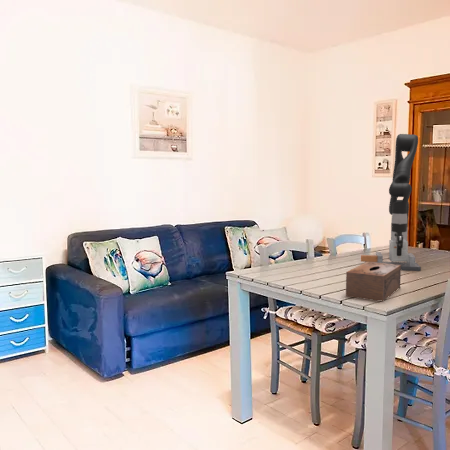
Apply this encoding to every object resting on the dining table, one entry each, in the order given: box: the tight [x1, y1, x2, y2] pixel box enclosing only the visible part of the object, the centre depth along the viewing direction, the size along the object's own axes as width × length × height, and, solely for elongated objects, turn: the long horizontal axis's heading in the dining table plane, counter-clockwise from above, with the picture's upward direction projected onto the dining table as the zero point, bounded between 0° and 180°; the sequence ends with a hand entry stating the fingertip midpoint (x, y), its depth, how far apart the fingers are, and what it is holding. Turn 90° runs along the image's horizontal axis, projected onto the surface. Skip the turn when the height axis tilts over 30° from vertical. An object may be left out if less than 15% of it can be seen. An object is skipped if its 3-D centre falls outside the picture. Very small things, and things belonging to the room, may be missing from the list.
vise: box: [374, 252, 422, 272], centre depth 236 cm, size 12×26×7 cm, turn 76°
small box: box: [388, 239, 409, 262], centre depth 234 cm, size 8×6×10 cm
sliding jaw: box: [360, 251, 384, 263], centre depth 238 cm, size 12×10×5 cm
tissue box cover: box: [345, 262, 402, 302], centre depth 187 cm, size 26×14×10 cm, turn 145°
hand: (398, 254), depth 235 cm, fingers closed on small box, 6 cm apart
